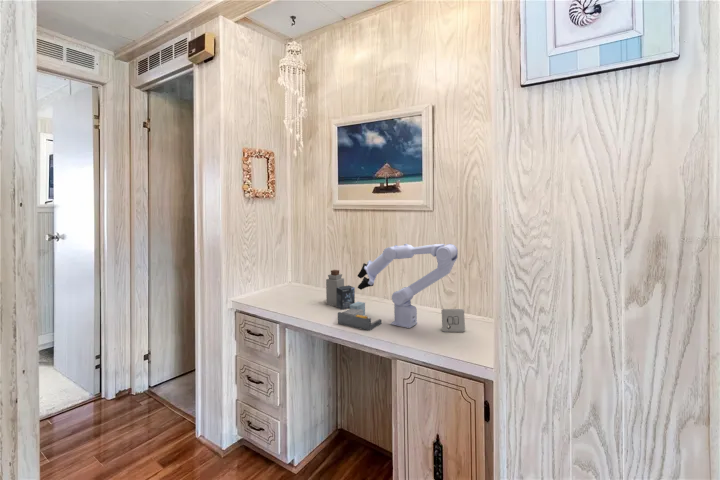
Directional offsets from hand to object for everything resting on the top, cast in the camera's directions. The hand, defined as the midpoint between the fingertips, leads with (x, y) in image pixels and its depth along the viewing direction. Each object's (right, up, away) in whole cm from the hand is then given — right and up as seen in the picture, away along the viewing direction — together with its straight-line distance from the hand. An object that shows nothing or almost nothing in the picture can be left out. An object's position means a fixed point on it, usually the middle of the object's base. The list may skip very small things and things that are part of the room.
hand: (359, 282), depth 174 cm
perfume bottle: (-12, -14, +22) cm, 29 cm away
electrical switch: (+39, -18, -18) cm, 47 cm away
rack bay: (0, -17, -9) cm, 20 cm away
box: (-7, -15, +16) cm, 23 cm away
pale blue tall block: (-1, -16, +2) cm, 16 cm away
